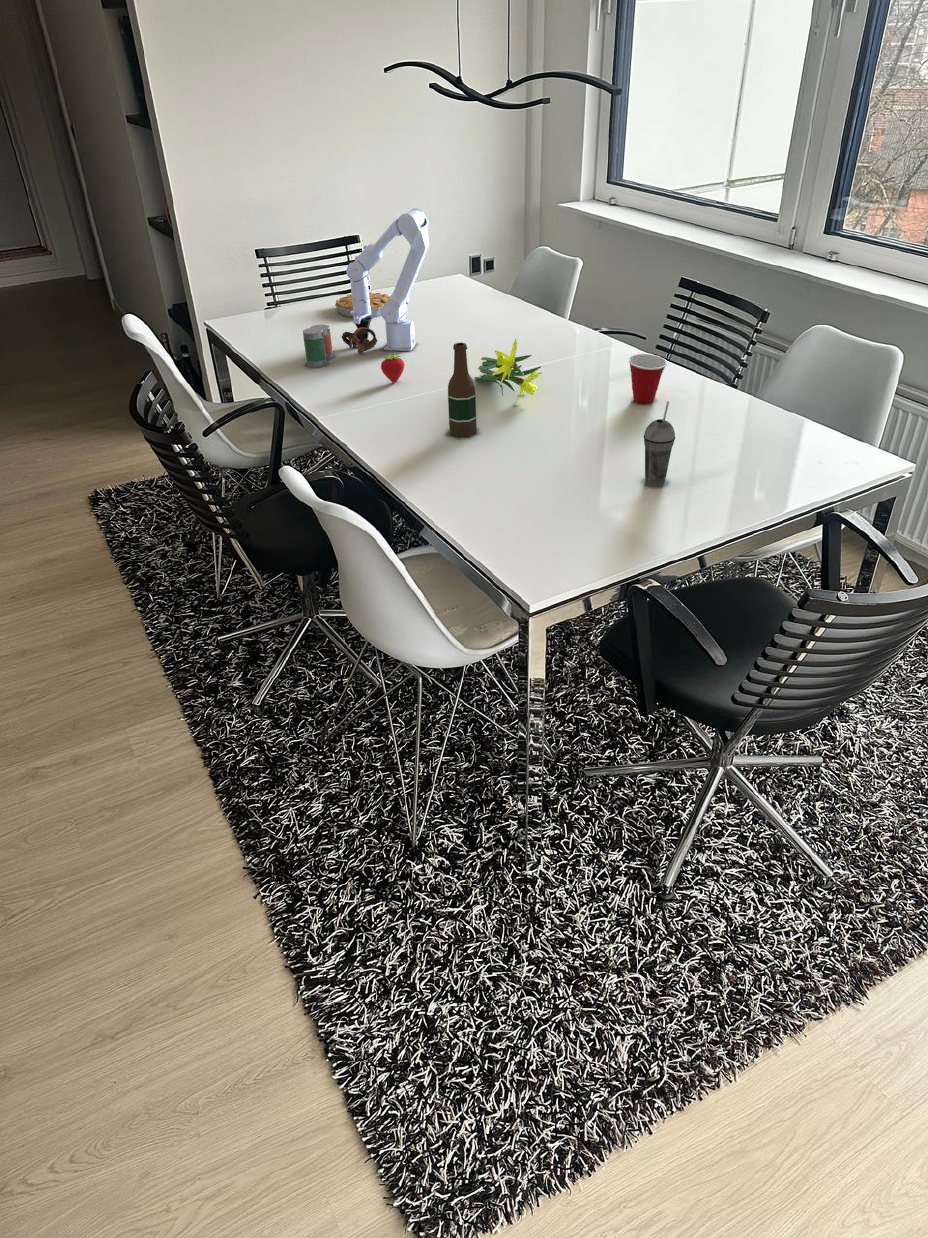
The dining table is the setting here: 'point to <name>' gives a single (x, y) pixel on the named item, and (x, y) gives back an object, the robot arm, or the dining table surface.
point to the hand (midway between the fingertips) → (364, 339)
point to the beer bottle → (461, 396)
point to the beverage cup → (658, 450)
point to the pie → (375, 303)
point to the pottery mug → (360, 339)
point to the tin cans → (317, 345)
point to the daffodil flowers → (508, 371)
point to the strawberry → (392, 367)
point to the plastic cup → (646, 376)
